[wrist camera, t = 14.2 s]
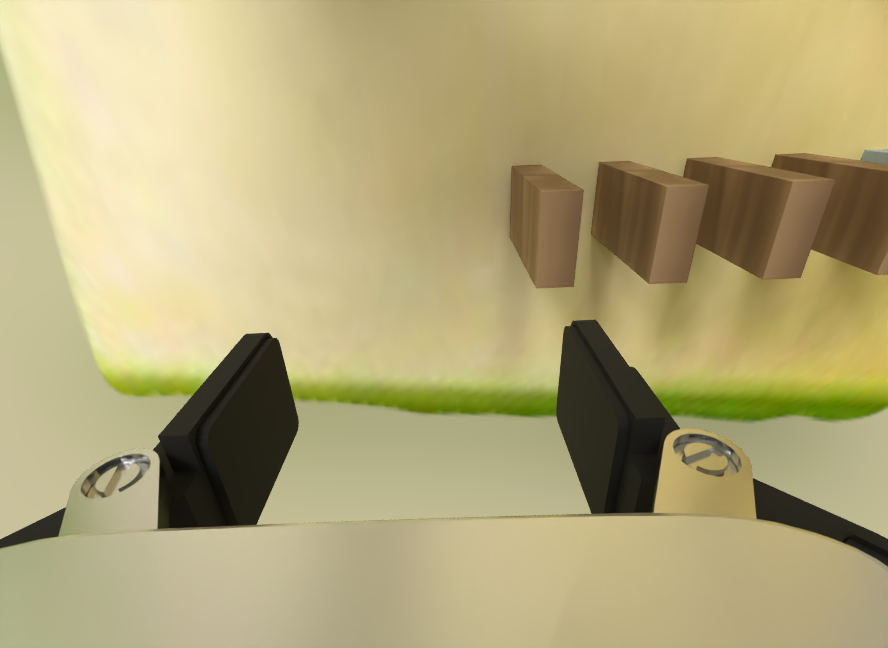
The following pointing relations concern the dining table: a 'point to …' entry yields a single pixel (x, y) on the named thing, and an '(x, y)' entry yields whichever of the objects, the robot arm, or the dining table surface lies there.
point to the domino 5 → (875, 156)
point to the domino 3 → (759, 214)
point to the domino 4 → (849, 209)
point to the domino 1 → (545, 224)
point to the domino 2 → (648, 219)
